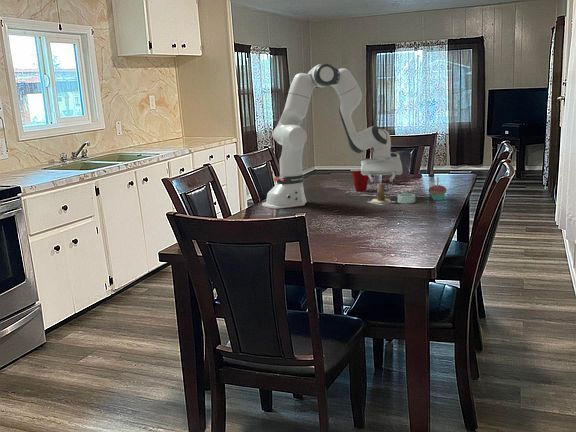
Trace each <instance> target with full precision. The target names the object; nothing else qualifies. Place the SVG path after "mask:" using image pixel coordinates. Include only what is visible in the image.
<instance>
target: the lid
mask: <svg viewBox="0 0 576 432" xmlns="http://www.w3.org/2000/svg"><path fill="white" fill-rule="evenodd" d="M376 187H377V189H376V190H377V194H376V195H377V197H376V198H373V199H371V201H372V203H371V204H374V203H376V204H375V205H378V204H383V205H386V204H385V203H388V204H391V203H390V202H391V201H392V200H391V199H390V198H386V197H385V196H386V195H385V193H386V191H385V190H386V185H385V183H382V182H380V183H377V185H376Z"/></svg>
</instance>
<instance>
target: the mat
mask: <svg viewBox="0 0 576 432" xmlns="http://www.w3.org/2000/svg"><path fill="white" fill-rule="evenodd" d="M367 203H370V204H375V205H379V206H383V205H387V204H392V203H396V201H394V200H391V202H390V203H385V204H376V203H372V200H369V201H367Z"/></svg>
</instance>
